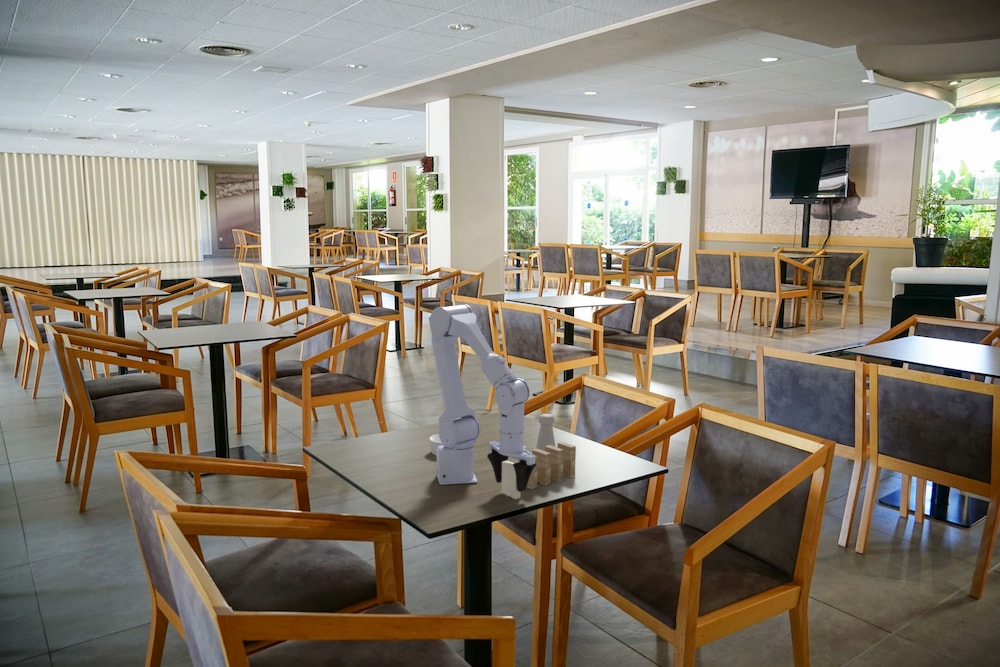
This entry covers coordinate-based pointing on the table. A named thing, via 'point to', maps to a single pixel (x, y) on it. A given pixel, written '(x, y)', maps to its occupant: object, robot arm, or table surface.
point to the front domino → (509, 480)
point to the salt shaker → (545, 431)
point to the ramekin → (435, 443)
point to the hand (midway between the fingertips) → (511, 486)
